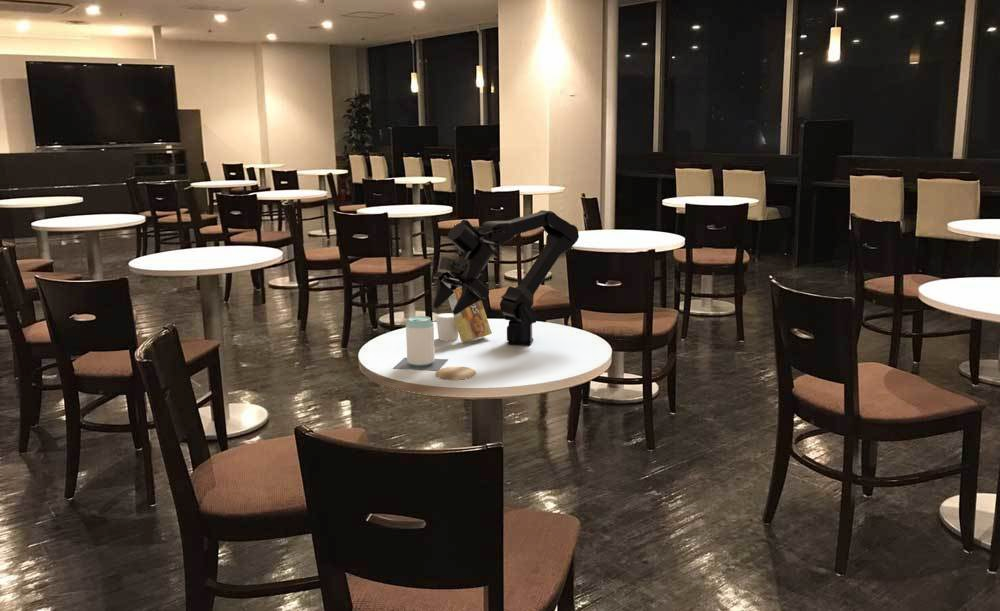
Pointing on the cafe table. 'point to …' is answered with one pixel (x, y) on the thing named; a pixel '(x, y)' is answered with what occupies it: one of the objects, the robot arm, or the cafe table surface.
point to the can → (420, 341)
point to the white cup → (446, 326)
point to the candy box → (470, 318)
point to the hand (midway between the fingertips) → (444, 310)
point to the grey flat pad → (434, 366)
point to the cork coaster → (455, 372)
